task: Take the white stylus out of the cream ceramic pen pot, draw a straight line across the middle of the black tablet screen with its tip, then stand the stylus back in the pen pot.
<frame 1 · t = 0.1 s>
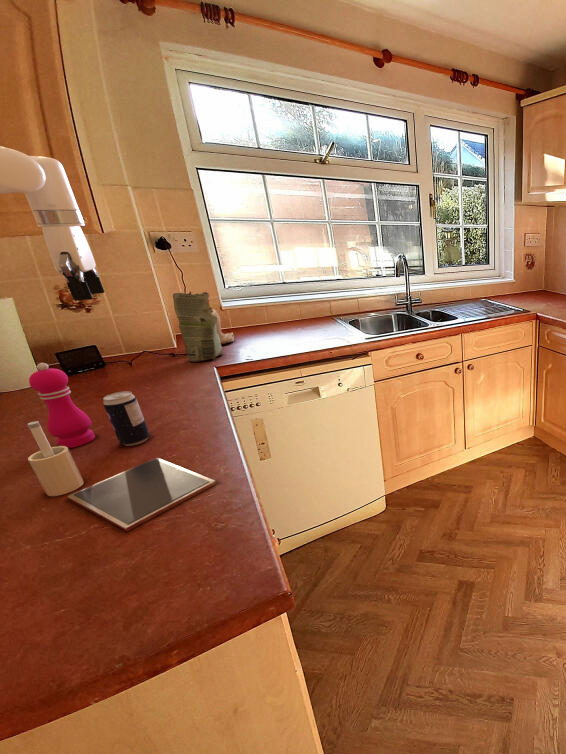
hand: (90, 296, 100), 32 cm above the counter, tool pointing down, fingers open, 9 cm apart
stylus: (49, 455, 81), in the pen pot
pepper mill: (78, 442, 101), on the counter
tablet: (144, 491, 82), on the counter
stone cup: (216, 345, 175), on the counter
beverage can: (136, 442, 101), on the counter
pen pot: (65, 487, 84), on the counter
pouch: (208, 358, 159), on the counter
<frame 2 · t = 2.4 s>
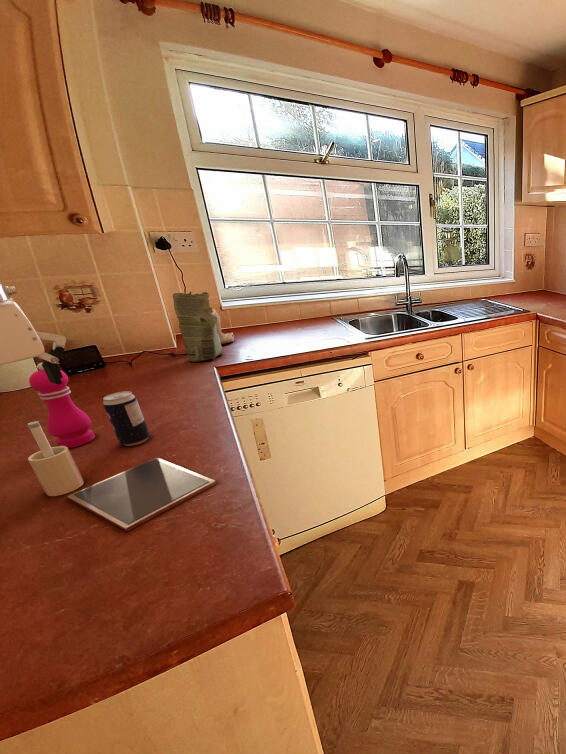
hand: (21, 392, 76), 20 cm above the counter, tool pointing down, fingers open, 9 cm apart
nothing on the counter moved.
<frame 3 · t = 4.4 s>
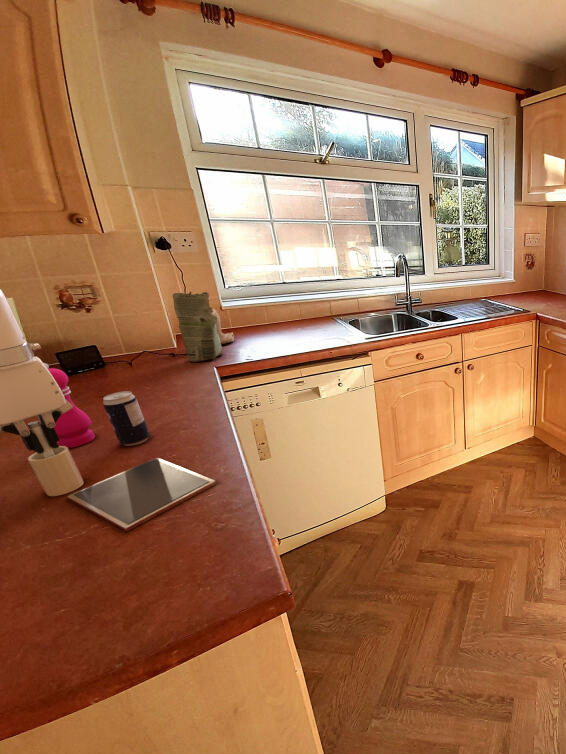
hand: (45, 448, 80), 9 cm above the counter, tool pointing down, fingers closed on stylus, 1 cm apart
stylus: (49, 455, 81), in the pen pot, touching gripper
everything else where it was.
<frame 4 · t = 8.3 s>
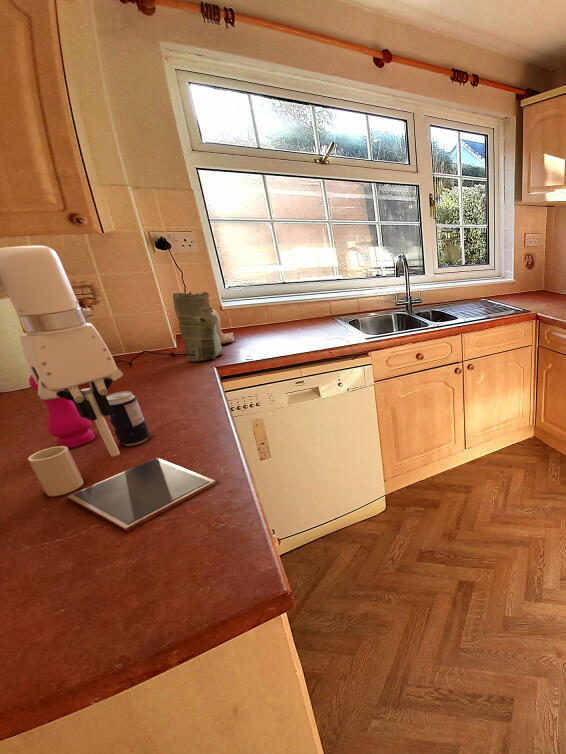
hand: (97, 416, 80), 15 cm above the counter, tool pointing down, fingers closed on stylus, 1 cm apart
stylus: (101, 423, 80), point 13 cm above the counter, touching gripper
everything else where it was.
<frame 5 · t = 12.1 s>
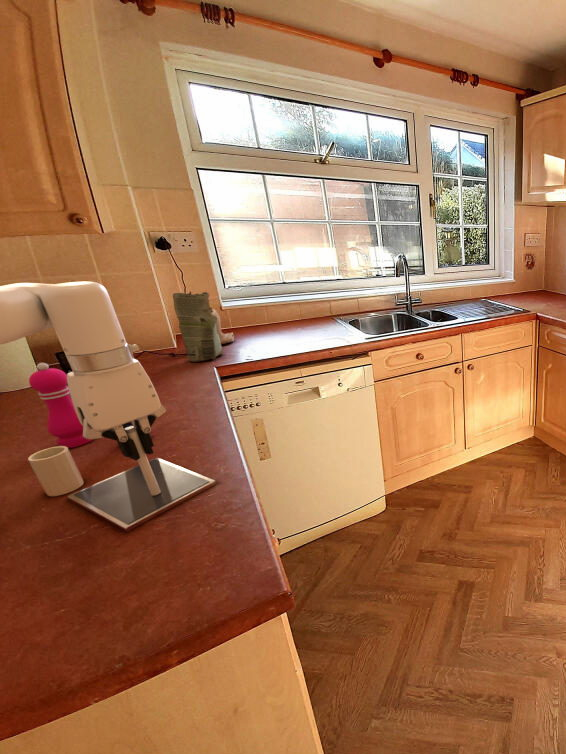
hand: (140, 454, 76), 10 cm above the counter, tool pointing down, fingers closed on stylus, 1 cm apart
stylus: (143, 461, 77), point 8 cm above the counter, touching gripper
everything else where it was.
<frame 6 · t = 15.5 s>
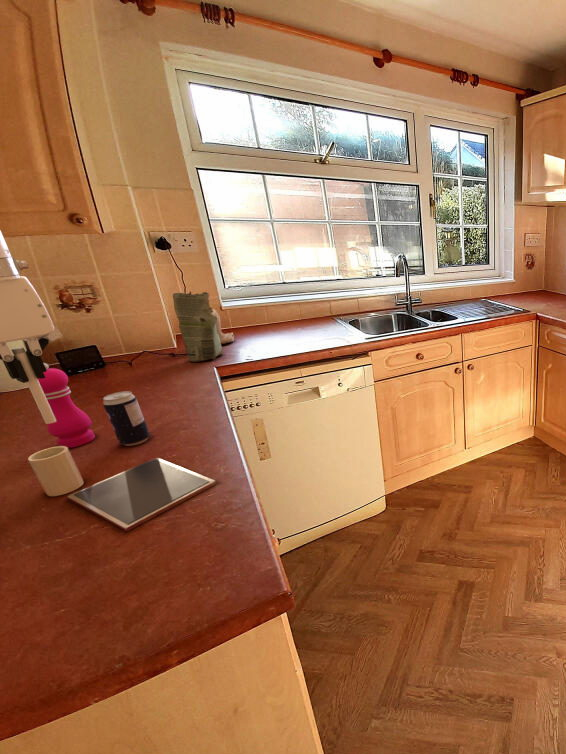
hand: (31, 378, 73), 24 cm above the counter, tool pointing down, fingers closed on stylus, 1 cm apart
stylus: (34, 386, 74), point 22 cm above the counter, touching gripper
everything else where it was.
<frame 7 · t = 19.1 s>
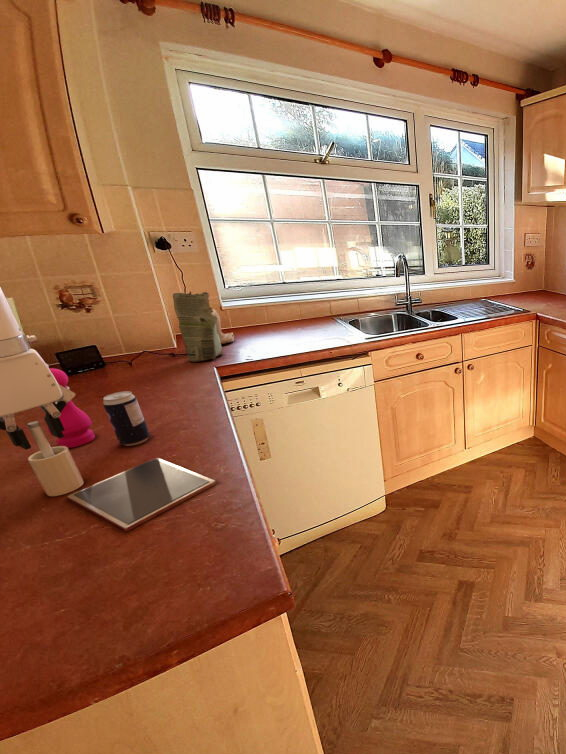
hand: (41, 440, 80), 11 cm above the counter, tool pointing down, fingers open, 3 cm apart
stylus: (49, 455, 81), in the pen pot
everything else where it was.
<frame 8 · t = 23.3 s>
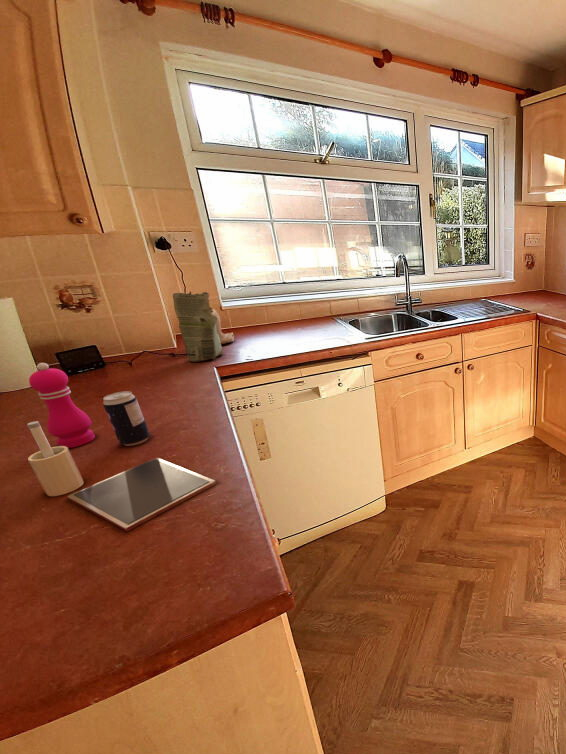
nothing on the counter moved.
at the end: stylus 0.0 cm off-centre in the pen pot, point 7.5 cm above the pen pot's base; stylus tilted 0°; the gripper is holding nothing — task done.
